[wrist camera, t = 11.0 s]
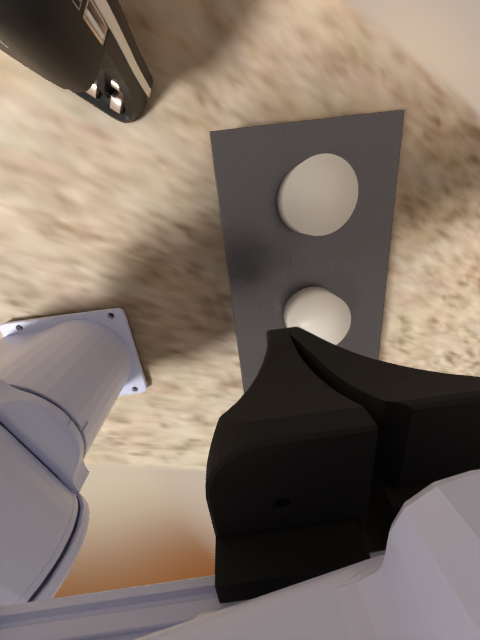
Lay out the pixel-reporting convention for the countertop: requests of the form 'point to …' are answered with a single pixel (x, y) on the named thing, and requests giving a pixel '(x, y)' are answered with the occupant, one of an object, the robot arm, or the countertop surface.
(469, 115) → the countertop surface
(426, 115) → the countertop surface
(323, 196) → the knob
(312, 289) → the knob mid
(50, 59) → the battery charger
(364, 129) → the mount plate
